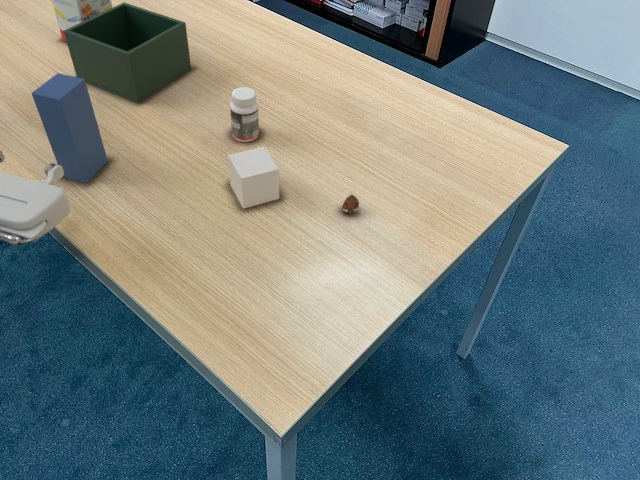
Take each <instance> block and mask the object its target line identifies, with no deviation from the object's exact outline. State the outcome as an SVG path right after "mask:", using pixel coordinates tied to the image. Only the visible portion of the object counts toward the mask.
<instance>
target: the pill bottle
mask: <svg viewBox="0 0 640 480" xmlns="http://www.w3.org/2000/svg"><path fill="white" fill-rule="evenodd" d="M229 109H230V110H229V111H230V124H231V125H230V127H231V135H232V137H233V138H234V139H235V140H236V141H238V142H244V143H246V142H247V143H248V142H252V141H254V140H256V139H257V138H258V137H259V134H260V130H259V129H260V127H259V126H260V125H259V104H258V101H257V93H256V91H255V90H254V88H251V87H248V86H247V87H246V86H240V87H237V88H235V89H233V90H232V92H231V101H230V103H229Z"/></svg>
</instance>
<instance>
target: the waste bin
mask: <svg viewBox="0 0 640 480" xmlns="http://www.w3.org/2000/svg"><path fill="white" fill-rule="evenodd" d="M63 32H64V35H65V38H66V41H65V42H66V44H67V45H66V46H67V48H68V51H69V55H70V58H71V62H72V66H73V68H74V69H73V70H74V73H75V75H76V77H77V78H82V79H85V82H86V84H89V85H91V86H93V87H96V88H99V89H100V90H101V89H102V90H103V91H106V92H109V93H111V94H114V95H116V96H118V97H121V98H123V99H126V100H129V101H132V102H134V103H136V104H140V103H142V102H143V101H145V100H147V98H149V97H151V96H152V95H155V93H157V92H159V91H160V90H162V89H163V88H165V87H166V86H167V85H169V84H171V83H172V82H175V80H177V79H179V78H180V77H182V76H183V75H185V74H187V73H188V72H190V70H192V64H191V57H190V56H191V55H190V49H189V48H190V47H189V40H188V32H187V24H186V22H185V21H182V20H180V19H176V18H173V17H170V16H167V15H164V14H161V13H158V12H155V11H152V10H148V9H145V8H142V7H139V6H136V5H133V4H130V3H127V2H122V3H119V4H118V5H115V6H112V8H111V9H109V10H107V11H105V12H102V13H100V14H98V15H96V16H94V17H92V18H90V19H88V20H85V21H83V22H81V23H79V24H77V25H75V26H73V27H71V28H68V29H66V30H64V31H63Z"/></svg>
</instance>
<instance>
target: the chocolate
mask: <svg viewBox="0 0 640 480" xmlns="http://www.w3.org/2000/svg"><path fill="white" fill-rule="evenodd" d="M355 191H356V189H353V190H351V191H350V192H347V194H346V198H345V199H344V201H343V202H342V203H341V206H340V209H341V212H343V213H346V214H353V213H355V212H356V211H358V210H359V206H360V201H359V199H358V197H356V196H355V195H353V194H354V193H355Z"/></svg>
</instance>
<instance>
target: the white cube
mask: <svg viewBox="0 0 640 480" xmlns="http://www.w3.org/2000/svg"><path fill="white" fill-rule="evenodd" d="M227 162H228V175H229V186H230V187H231V189H232V191H233V193H234V194H235V197H236V199H237V201H238V202H239V203H240V205H241V207H242V209H243V210H244V209H247V208H251V207H255V206H259V205H262V204H265V203H269V202H273V201H276V200H280V168H279V166H278V165H277V163H276V161H275V160H274V158H273V157H272V156H271V154H270V153H269V151H268V149H266V147H265V146H262V147H257V148H252V149H249V150H244V151H240V152H235V153H231V154H228V155H227Z"/></svg>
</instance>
